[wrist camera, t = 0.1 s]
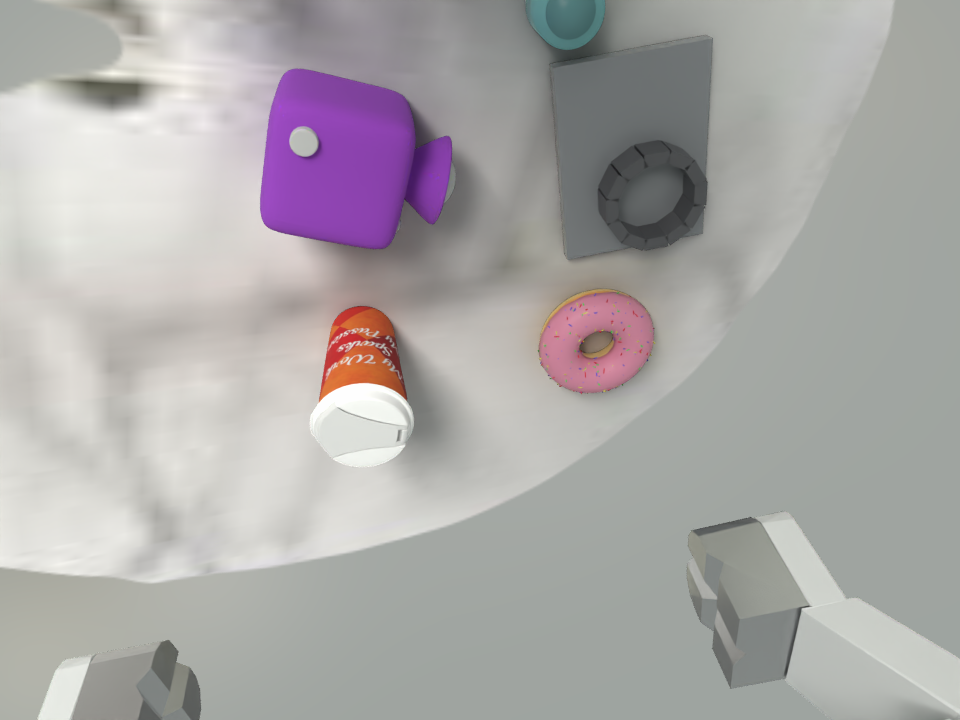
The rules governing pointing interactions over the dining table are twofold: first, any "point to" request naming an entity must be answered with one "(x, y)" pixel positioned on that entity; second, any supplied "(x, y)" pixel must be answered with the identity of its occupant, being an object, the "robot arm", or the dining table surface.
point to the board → (627, 133)
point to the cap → (566, 21)
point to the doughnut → (584, 319)
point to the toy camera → (348, 162)
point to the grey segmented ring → (673, 222)
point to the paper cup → (362, 392)
